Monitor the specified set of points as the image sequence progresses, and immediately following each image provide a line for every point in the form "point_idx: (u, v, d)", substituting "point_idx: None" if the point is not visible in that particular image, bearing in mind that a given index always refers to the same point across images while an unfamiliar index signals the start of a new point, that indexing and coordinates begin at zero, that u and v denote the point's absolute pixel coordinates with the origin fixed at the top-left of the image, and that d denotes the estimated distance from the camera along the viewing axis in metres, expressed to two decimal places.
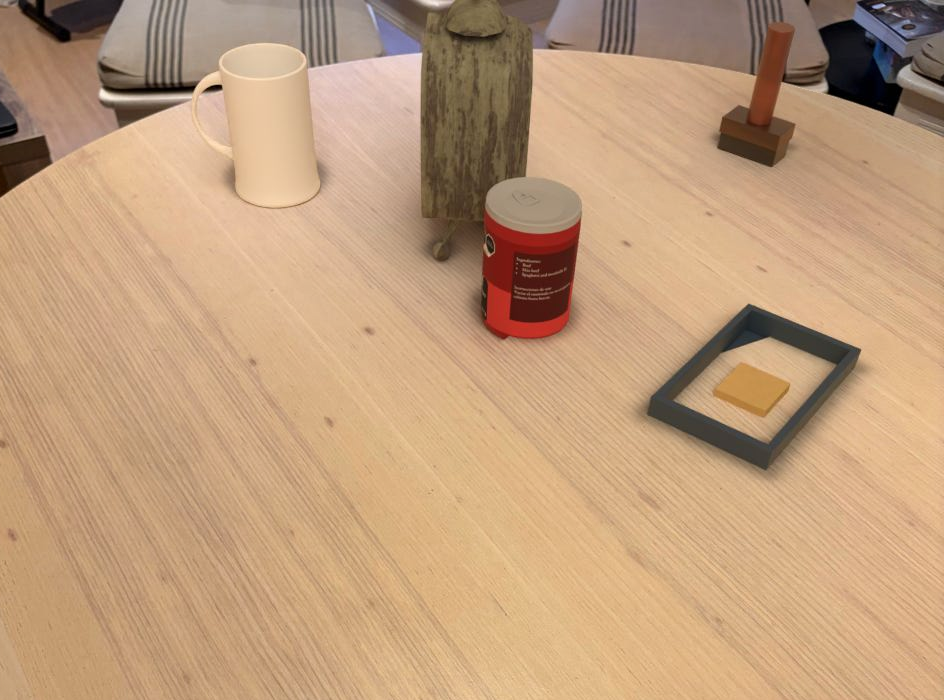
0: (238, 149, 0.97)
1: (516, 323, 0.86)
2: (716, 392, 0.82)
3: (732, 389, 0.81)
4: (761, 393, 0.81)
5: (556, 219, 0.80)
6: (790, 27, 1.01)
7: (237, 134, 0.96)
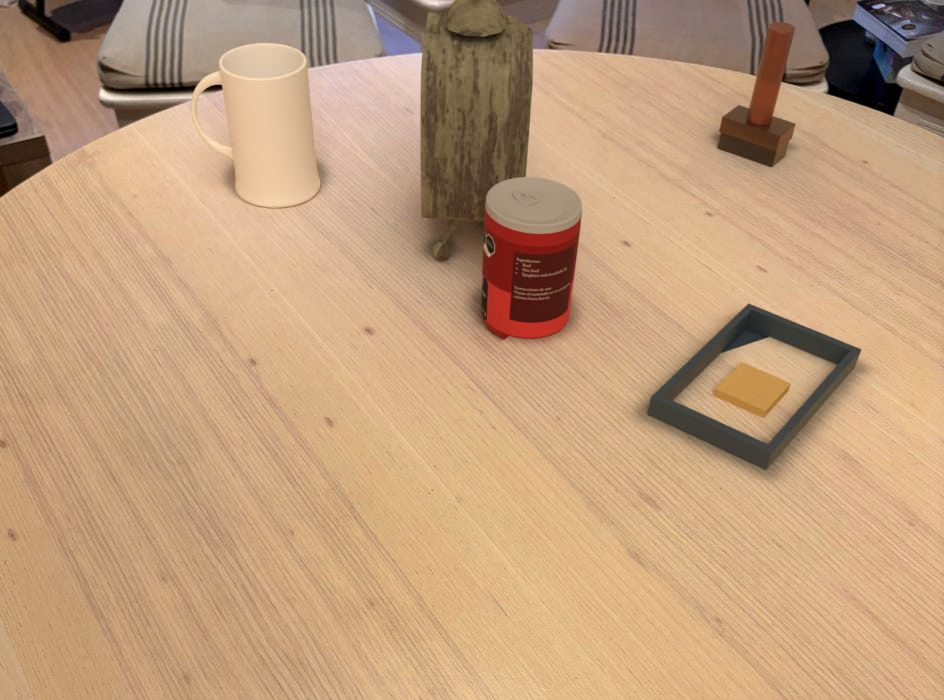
0: (238, 149, 0.97)
1: (516, 323, 0.86)
2: (716, 392, 0.82)
3: (732, 389, 0.81)
4: (761, 393, 0.81)
5: (556, 219, 0.80)
6: (790, 27, 1.01)
7: (237, 134, 0.96)
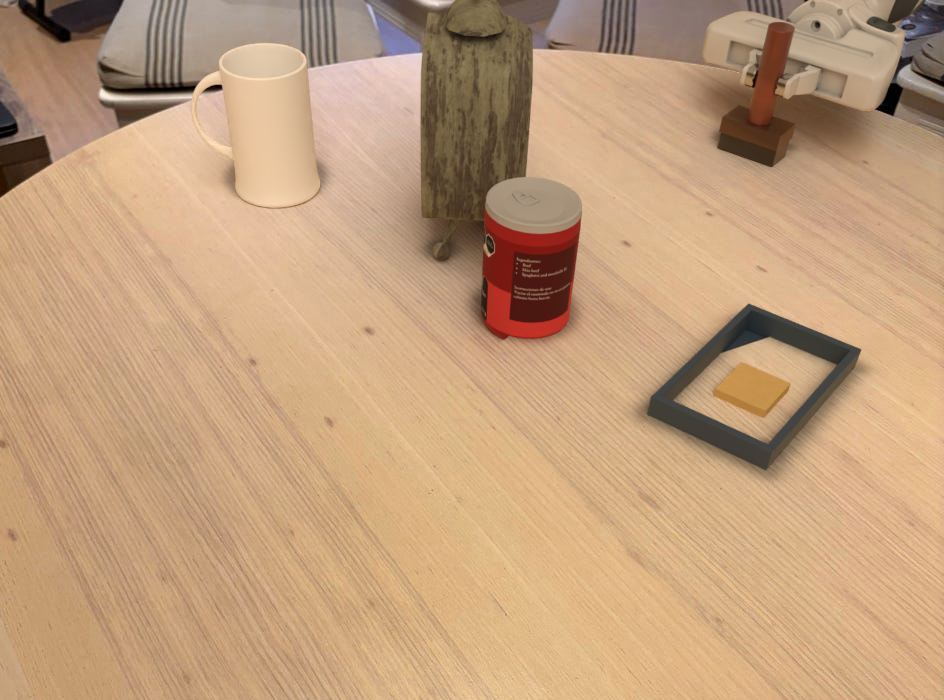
0: (238, 149, 0.97)
1: (516, 323, 0.86)
2: (716, 392, 0.82)
3: (732, 389, 0.81)
4: (761, 393, 0.81)
5: (556, 219, 0.80)
6: (790, 27, 1.01)
7: (237, 134, 0.96)
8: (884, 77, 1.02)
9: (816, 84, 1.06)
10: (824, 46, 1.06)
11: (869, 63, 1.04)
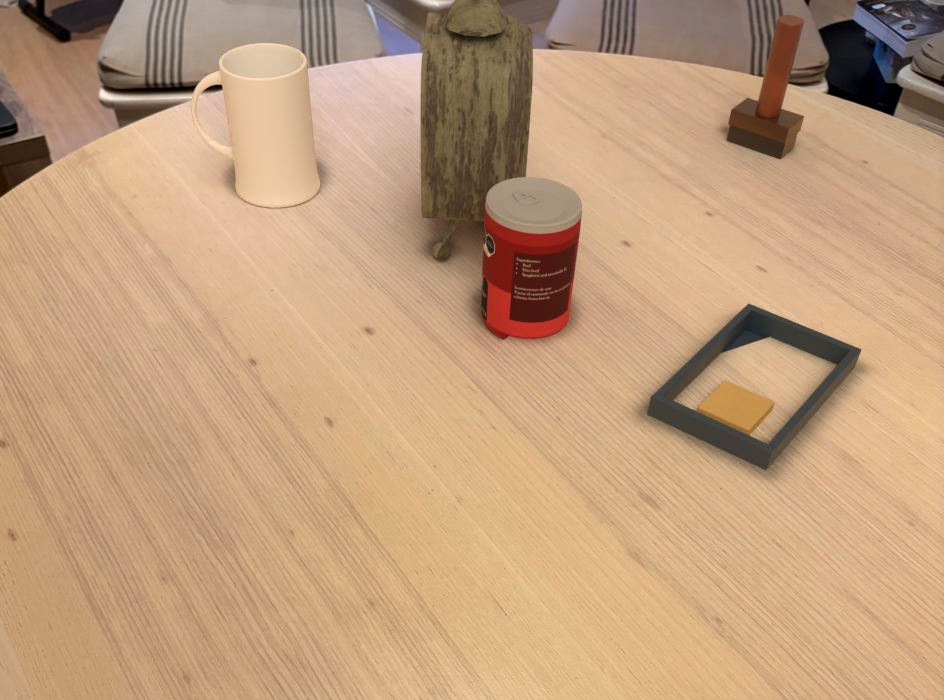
0: (238, 149, 0.97)
1: (516, 323, 0.86)
2: (699, 411, 0.80)
3: (715, 408, 0.80)
4: (744, 412, 0.80)
5: (556, 219, 0.80)
6: (799, 20, 1.02)
7: (237, 134, 0.96)
8: None
9: None
10: None
11: None
